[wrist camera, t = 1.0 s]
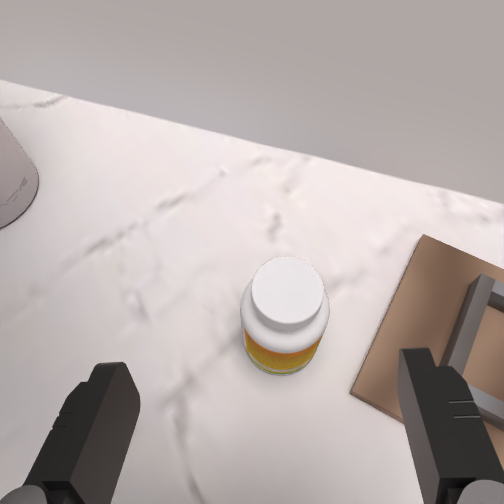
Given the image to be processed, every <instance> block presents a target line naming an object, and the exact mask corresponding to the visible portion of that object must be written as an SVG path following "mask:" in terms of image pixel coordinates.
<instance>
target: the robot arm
mask: <svg viewBox="0 0 504 504" xmlns="http://www.w3.org/2000/svg"><path fill="white" fill-rule="evenodd" d="M37 187H38V174H37V170H36V168H35V166H34V164H33V163H32V161H31V160H30V159H29V157H28V156H27V154H26V153H25V151H24V150H23V149H22V147H21V146H20V144H19V143H18V142H17V140H16V139H15V137H14V136H13V134H12V133H11V131H10V130H9V129H8V127H7V126H6V124H5V123H4V122H3V120H2V119H1V117H0V228H1V227H3V226H5V225H7V224H8V223H10V222H11V221H13V220H15V219H16V218H17V217H18V216H19V215H20V214H22V213H23V212H24V211H25V209H26V208H27V207H28V206H29V204H30V203H31V202H32V200H33V198H34V196H35V194H36V191H37ZM397 390H398V399H399V404H400V409H401V413H402V417H403V421H404V425H405V429H406V433H407V437H408V441H409V445H410V449H411V453H412V457H413V461H414V465H415V469H416V473H417V477H418V481H419V485H420V489H421V493H422V497H423V501H424V504H504V470H503V468H502V465H501V463H500V461H499V458H498V456H497V453H496V451H495V449H494V446H493V444H492V441H491V439H490V437H489V434H488V432H487V429H486V427H485V425H484V422H483V420H482V418H481V417H480V413H479V410H478V408H477V406H476V403H474V398H473V396H472V394H471V391H470V389H469V386H468V384H467V382H466V380H465V379H464V378H463V377H462V376H461V375H460V374H459V373H458V372H457V371H456V370H455V369H454V368H453V367H452V366H438V367H436V365H435V362H434V359H433V356H432V354H431V351H430V349H429V348H428V347H415V348H400V349H399V360H398V378H397ZM139 412H140V395H139V392H138V390H137V388H136V386H135V383H134V381H133V379H132V377H131V374H130V372H129V370H128V368H127V366H126V364H125V363H124V362H111V363H98V364H97V365H96V366H95V367H94V369H93V371H92V373H91V375H90V378H89V380H88V382H80V383H79V385H78V386H77V387H76V388H75V389H74V390H73V391H72V392H71V393H70V394H69V395H68V396H67V398H66V400H65V402H64V404H63V406H62V408H61V410H60V412H59V416H57V418H56V420H55V422H54V424H53V426H52V427H53V429H52V430H50V432H49V434H48V436H47V438H46V440H45V442H44V444H43V446H42V448H41V450H40V452H39V454H38V456H37V459H36V461H35V463H34V465H33V467H32V469H31V471H30V473H29V475H28V477H27V479H26V480H25V482H24V484H23V485H22V487H19V488H17V489H15V490H13V491H11V492H10V493H8V494H7V495H6V496H5V497H3V498H2V499H1V500H0V504H110V503H111V500H112V497H113V494H114V491H115V488H116V485H117V481H118V478H119V475H120V472H121V469H122V466H123V463H124V460H125V457H126V454H127V450H128V447H129V444H130V441H131V438H132V435H133V432H134V429H135V426H136V422H137V419H138V416H139Z"/></svg>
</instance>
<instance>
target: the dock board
mask: <svg viewBox="0 0 504 504" xmlns="http://www.w3.org/2000/svg"><path fill="white" fill-rule="evenodd" d="M415 347H428V348H429V349H430V351H431V354H432V356H433V359H434V362H435V365H436V367H438V366H452V367H453V368H454V369H455V370H456V371H457V372H458V373H459V374H460V375H461V376H462V377H463V378H464V379H465V380H466V382H467V384H468V386H469V389H470V391H471V394H472V396H473V398H474V403H476V406H477V408H478V410H479V413H480V417H481V418H482V420H483V422H484V425H485V427H486V429H487V432H488V434H489V437H490V439H491V441H492V444H493V446H494V449H495V451H496V453H497V456H498V458H499V461H500V463H501V465H502V468H503V470H504V269H502V268H499V267H497V266H495V265H493V264H490V263H488V262H486V261H484V260H481V259H479V258H477V257H474V256H472V255H470V254H468V253H465V252H463V251H461V250H459V249H456V248H454V247H452V246H450V245H447V244H445V243H443V242H441V241H438V240H436V239H434V238H431V237H429V236H427V235H425V234H423V235H422V237H421V238H420V240H419V242H418V244H417V246H416V249H415V251H414V253H413V255H412V257H411V260H410V262H409V264H408V266H407V268H406V271H405V273H404V275H403V277H402V279H401V282H400V284H399V286H398V288H397V290H396V293H395V295H394V297H393V299H392V301H391V304H390V306H389V308H388V310H387V312H386V315H385V317H384V319H383V321H382V323H381V326H380V328H379V330H378V332H377V334H376V337H375V339H374V341H373V343H372V345H371V348H370V350H369V352H368V354H367V357H366V359H365V361H364V363H363V365H362V368H361V370H360V372H359V374H358V376H357V379H356V381H355V383H354V385H353V387H352V390H351V392H350V394H351V395H353V396H355V397H357V398H359V399H360V400H362V401H364V402H366V403H368V404H369V405H371V406H373V407H375V408H377V409H378V410H380V411H382V412H384V413H386V414H387V415H389V416H391V417H393V418H395V419H396V420H398V421H400V422H402V423H404V421H403V417H402V413H401V409H400V404H399V399H398V390H397V378H398V360H399V349H400V348H415Z"/></svg>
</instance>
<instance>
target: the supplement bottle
mask: <svg viewBox="0 0 504 504" xmlns="http://www.w3.org/2000/svg"><path fill="white" fill-rule="evenodd" d="M240 313H241V322H242V332H243V340H244V346H245V350H246V352H247V354H248V356H249V358H250V359H251V361H252V362H253V363H254V364H255V365H256V366H257V367H258V368H260V369H261V370H263V371H265V372H267V373H270V374H274V375H289V374H293V373H295V372H298V371H299V370H301V369H303V368H304V367H305V366H306V365H307V364H308V363H309V362H310V361H311V359H312V358H313V356H314V354H315V352H316V350H317V347H318V345H319V342H320V340H321V338H322V335H323V333H324V331H325V328H326V326H327V323H328V319H329V313H330V306H329V300H328V296H327V294H326V291H325V289H324V285H323V281H322V279H321V277H320V275H319V273H318V272H317V270H316V269H315V268H314V267H313V266H312V265H310V264H309V263H307V262H306V261H304V260H302V259H299V258H296V257H289V256H284V257H277V258H274V259H271V260H269V261H268V262H266V263H264V264H263V265H262V266H261V267H260V268H259V269H258V270H257V272H256V273H255V275H254V277H253V279H252V280H251V281H250V282H249V284H248V285H247V287H246V288H245V290H244V293H243V295H242V299H241V308H240Z"/></svg>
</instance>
